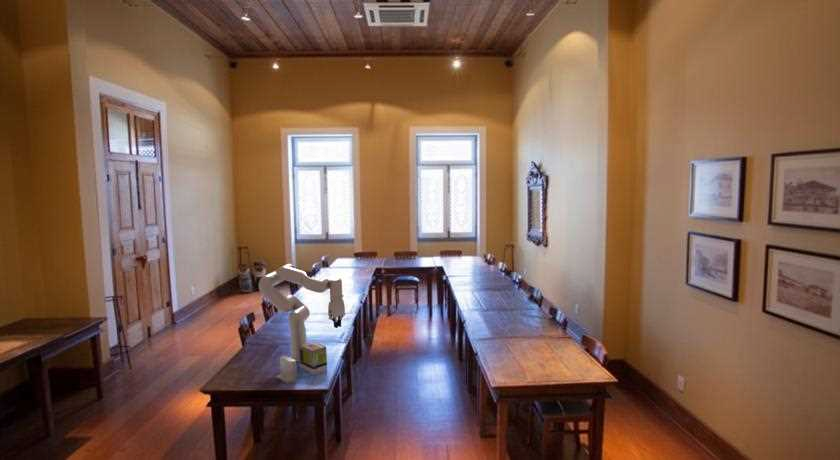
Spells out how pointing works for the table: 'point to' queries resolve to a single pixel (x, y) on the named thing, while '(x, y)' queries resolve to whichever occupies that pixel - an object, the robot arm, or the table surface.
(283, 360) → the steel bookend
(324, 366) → the tea box
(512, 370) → the table surface
